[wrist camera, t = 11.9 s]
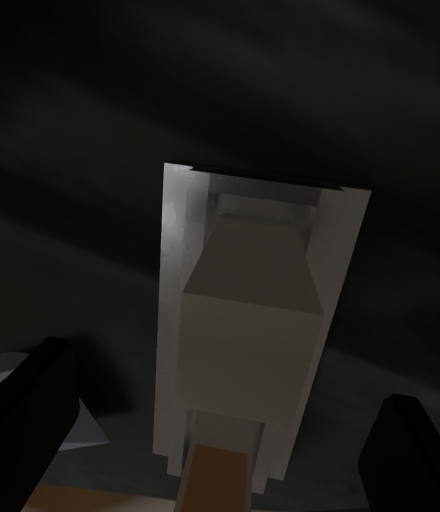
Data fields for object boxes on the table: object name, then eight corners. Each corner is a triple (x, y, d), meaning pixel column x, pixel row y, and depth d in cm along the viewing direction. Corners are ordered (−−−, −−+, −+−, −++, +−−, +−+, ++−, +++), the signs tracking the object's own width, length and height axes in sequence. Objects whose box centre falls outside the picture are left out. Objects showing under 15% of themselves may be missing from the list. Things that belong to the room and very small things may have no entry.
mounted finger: (194, 443, 27) (159, 602, 18) (200, 396, 25) (163, 550, 16) (245, 453, 27) (235, 620, 18) (255, 407, 25) (250, 571, 16)
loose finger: (212, 291, 21) (173, 416, 12) (221, 213, 19) (182, 292, 10) (277, 302, 21) (288, 439, 12) (294, 223, 19) (324, 315, 10)
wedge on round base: (78, 332, 26) (-33, 362, 30) (21, 394, 20) (-111, 424, 23) (126, 409, 29) (20, 429, 32) (89, 484, 23) (-37, 499, 26)
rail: (158, 438, 30) (147, 469, 27) (171, 160, 20) (156, 165, 17) (282, 463, 29) (283, 498, 26) (363, 186, 19) (380, 196, 16)
